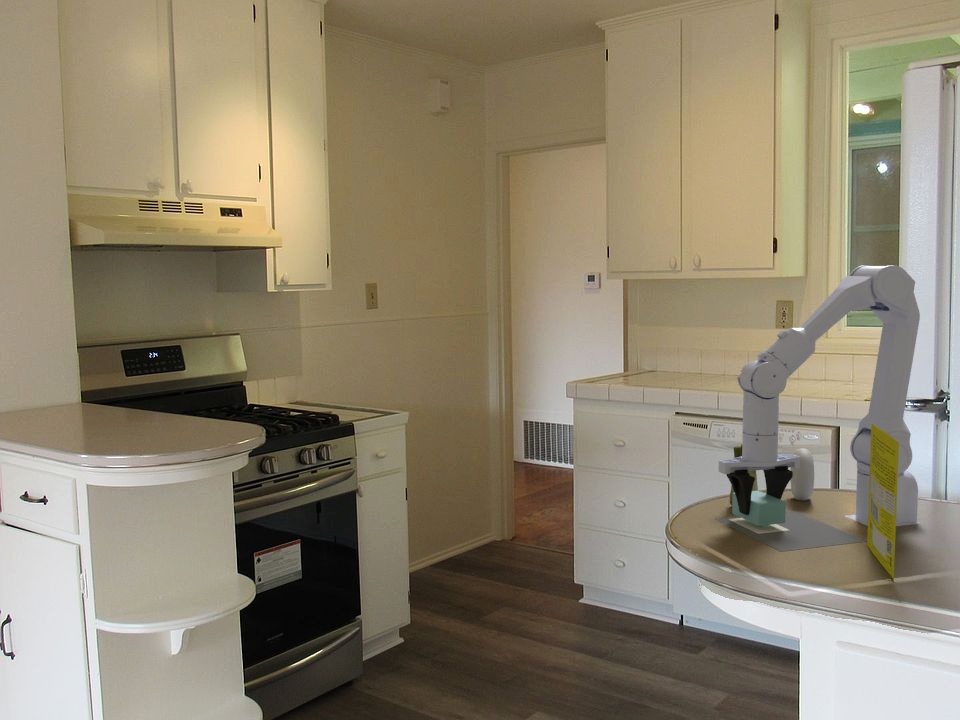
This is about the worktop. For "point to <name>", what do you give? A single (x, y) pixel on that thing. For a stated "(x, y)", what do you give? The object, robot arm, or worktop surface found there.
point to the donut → (803, 475)
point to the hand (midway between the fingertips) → (758, 512)
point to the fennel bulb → (752, 473)
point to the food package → (883, 497)
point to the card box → (762, 509)
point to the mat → (793, 532)
